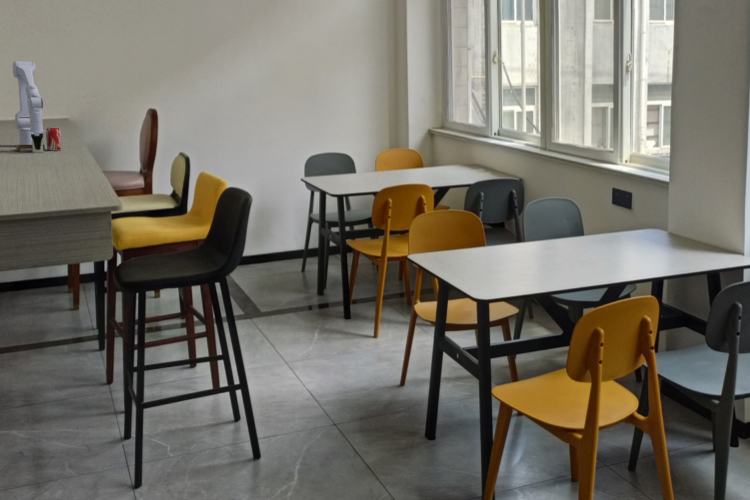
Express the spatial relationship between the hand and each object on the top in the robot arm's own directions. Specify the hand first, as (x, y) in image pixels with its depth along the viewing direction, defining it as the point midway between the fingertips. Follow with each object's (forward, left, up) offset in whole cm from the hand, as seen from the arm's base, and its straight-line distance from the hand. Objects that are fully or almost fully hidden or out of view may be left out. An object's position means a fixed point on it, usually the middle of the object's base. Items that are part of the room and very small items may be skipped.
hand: (37, 148), depth 384 cm
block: (0, 0, -2) cm, 2 cm away
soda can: (-7, +8, -2) cm, 11 cm away
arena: (-7, -4, -2) cm, 8 cm away
